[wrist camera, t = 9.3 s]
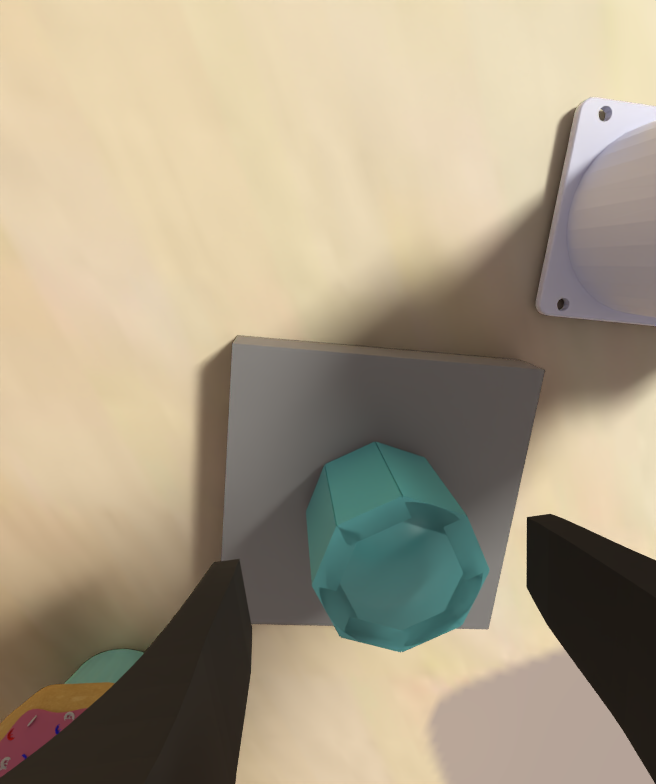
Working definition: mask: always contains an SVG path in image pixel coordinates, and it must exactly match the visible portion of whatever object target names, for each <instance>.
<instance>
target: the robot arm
mask: <svg viewBox="0 0 656 784" xmlns="http://www.w3.org/2000/svg"><path fill="white" fill-rule="evenodd" d="M600 109H602V110H603V111H604V112H605V119H604V121H601V120H600V118H599V111H600ZM561 298H562V299H563V300H564V305H563V308H561V309H560V310H559V309H558V308H557V303H558V301H559V300H560V299H561ZM536 309H537V311H538V312H539V313H540V314H543V315H548V316H557V317H568V318H578V319H588V320H598V321H608V322H619V323H629V324H639V325H649V326H656V106H650V105H644V104H637V103H631V102H624V101H618V100H611V99H604V98H598V97H590V98H588V99H586V100H585V101H583V102H581V103H580V104H579V105H578V106H577V108H576V110H575V113H574V118H573V123H572V128H571V133H570V137H569V142H568V147H567V152H566V157H565V162H564V167H563V171H562V176H561V181H560V186H559V191H558V196H557V201H556V205H555V210H554V215H553V220H552V225H551V230H550V235H549V239H548V244H547V249H546V254H545V259H544V264H543V269H542V273H541V278H540V283H539V288H538V293H537V298H536ZM527 589H528V591H529V592H530V594H531V596H532V598H533V600H534V602H535V604H536V606H537V608H538V609H539V611H540V613H541V615H542V616H543V618H544V620H545V622H546V623H547V625H548V626H549V628H550V629H551V631H552V632H553V634H554V635H555V636H556V638H557V639H558V640H559V642H560V643H561V645H562V646H563V647H564V649H565V650H566V652H567V653H568V654H569V656H570V657H571V658H572V660H573V661H574V662H575V664H576V665H577V667H578V668H579V669H580V671H581V672H582V673H583V675H584V676H585V678H586V679H587V680H588V682H589V683H590V684H591V686H592V687H593V688H594V690H595V691H596V693H597V694H598V695H599V697H600V698H601V700H602V701H603V702H604V704H605V705H606V706H607V708H608V709H609V710H610V712H611V713H612V715H613V716H614V718H615V719H616V721H617V722H618V724H619V725H620V727H621V728H622V729H623V731H624V733H625V734H626V736H627V738H628V739H629V741H630V742H631V744H632V746H633V747H634V749H635V751H636V752H637V754H638V756H639V757H640V759H641V761H642V762H643V764H644V766H645V767H646V769H647V771H648V772H649V773H650V776H651V777H652V779H653V780H654V782H655V784H656V560H654V559H651V558H649V557H647V556H644V555H642V554H640V553H637V552H635V551H633V550H631V549H628V548H626V547H624V546H622V545H620V544H617V543H615V542H613V541H611V540H609V539H607V538H604V537H602V536H600V535H598V534H596V533H594V532H591V531H589V530H587V529H585V528H583V527H581V526H578V525H576V524H574V523H572V522H570V521H567V520H565V519H563V518H560V517H558V516H555V515H552V514H546V515H539V516H533V517H527ZM251 654H252V626H251V620H250V614H249V609H248V603H247V598H246V592H245V587H244V581H243V576H242V570H241V565H240V559H234V560H227V561H220V562H214V563H213V565H212V566H211V567H210V568H209V570H208V571H207V573H206V574H205V575H204V577H203V578H202V580H201V581H200V582H199V584H198V585H197V587H196V588H195V589H194V591H193V592H192V594H191V595H190V596H189V598H188V599H187V600H186V602H185V603H184V604H183V606H182V607H181V608H180V610H179V611H178V612H177V614H176V615H175V616H174V617H173V619H172V620H171V621H170V623H169V624H168V625H167V626H166V628H165V629H164V630H163V631H162V632H161V634H160V635H159V636H158V637H157V638H156V640H155V641H154V642H153V643H152V644H151V645H150V647H149V648H148V649H147V650H146V651H145V653H144V654H143V655H142V656H141V657H140V658H139V659H138V660H137V661H136V662H135V663H134V664H133V666H132V667H131V668H130V669H129V670H128V671H127V672H126V673H125V674H124V675H123V676H122V677H121V678H120V679H119V680H118V681H117V682H116V683H115V684H114V685H113V686H112V687H111V688H110V689H108V690H107V691H106V692H105V693H104V694H103V695H102V696H101V697H100V698H99V699H97V700H96V701H95V702H94V703H93V704H92V705H91V706H89V707H88V708H87V709H86V710H85V711H84V712H83V713H81V714H80V715H79V716H78V717H77V718H76V719H75V720H73V721H72V722H71V723H70V724H69V725H68V726H67V727H66V728H64V729H63V730H62V731H61V732H59V733H58V734H57V735H56V736H54V737H53V738H52V739H51V740H49V741H48V742H47V743H46V744H44V745H43V746H42V747H41V748H39V749H38V750H37V751H35V752H34V753H33V754H31V755H30V756H29V757H27V758H26V759H25V760H23V761H22V762H21V763H19V764H18V765H17V766H15V767H14V768H13V769H11V770H10V771H9V772H7V773H6V774H4V775H3V776H2V777H0V784H235V781H236V772H237V765H238V758H239V751H240V744H241V737H242V730H243V724H244V717H245V710H246V703H247V696H248V688H249V681H250V674H251Z"/></svg>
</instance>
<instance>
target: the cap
mask: <svg viewBox="0 0 656 784" xmlns="http://www.w3.org/2000/svg"><path fill="white" fill-rule="evenodd" d="M306 520H307V532H308V544H309V557H310V569H311V581H312V587H313V589H314V591H315V593H316V595H317V596H318V598H319V600H320V602H321V604H322V605H323V607H324V609H325V611H326V613H327V614H328V616H329V618H330V620H331V622H332V623H333V625H334V627H335V629H336V631H337V632H338V634H339V636H341V638H346V639H350V640H354V641H358V642H362V643H366V644H370V645H374V646H378V647H382V648H386V649H390V650H394V651H398V652H401V651H402V652H404V651H406V650H408V649H411V648H413V647H415V646H417V645H420V644H422V643H424V642H426V641H429V640H431V639H433V638H435V637H438V636H440V635H442V634H444V633H447V632H449V631H451V630H453V629H456V628H458V627H460V626H461V625H463V623H464V621H465V619H466V617H467V615H468V613H469V611H470V609H471V607H472V605H473V603H474V601H475V599H476V597H477V595H478V593H479V591H480V589H481V587H482V585H483V583H484V581H485V579H486V577H487V575H488V573H489V570H490V569H489V567H488V564H487V562H486V559H485V557H484V555H483V552H482V550H481V548H480V545H479V543H478V540H477V538H476V536H475V533H474V531H473V528H472V526H471V524H470V521H469V519H468V517H467V515H466V514H465V512H464V511H463V509H462V508H461V507H460V505H459V504H458V503H457V501H456V500H455V498H454V497H453V496H452V494H451V493H450V491H449V490H448V489H447V487H446V486H445V484H444V483H443V482H442V480H441V479H440V478H439V476H438V475H437V473H436V472H435V471H434V469H433V468H432V466H431V465H430V464H429V462H428V461H427V459H426V458H425V457H422V456H419V455H416V454H413V453H410V452H406V451H403V450H400V449H397V448H394V447H391V446H388V445H385V444H382V443H379V442H372V443H370V444H368V445H366V446H364V447H362V448H359V449H357V450H355V451H353V452H351V453H348V454H346V455H344V456H342V457H340V458H338V459H335V460H333V461H331V462H329V463H327V464H325V465H324V467H323V469H322V472H321V475H320V477H319V480H318V482H317V485H316V487H315V490H314V492H313V495H312V497H311V500H310V502H309V505H308V508H307V510H306Z"/></svg>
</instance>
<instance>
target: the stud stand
mask: <svg viewBox="0 0 656 784" xmlns="http://www.w3.org/2000/svg"><path fill="white" fill-rule="evenodd" d="M544 372H545V370H544V369H542V368H539V367H537V366H534V365H532V364H529V363H527V362H524V361H522V360H515V359H504V358H492V357H481V356H469V355H458V354H446V353H435V352H423V351H412V350H400V349H389V348H377V347H366V346H354V345H343V344H331V343H320V342H308V341H297V340H285V339H274V338H262V337H251V336H239V335H238V336H237V337H236V339H235V340H234V342H233V343H232V360H231V379H230V399H229V418H228V438H227V457H226V477H225V496H224V516H223V535H222V555H221V561H227V560H234V559H240V565H241V570H242V576H243V581H244V587H245V592H246V598H247V603H248V609H249V614H250V620H251V624H278V625H322V626H334V625H333V623H332V622H331V620H330V618H329V616H328V614H327V613H326V611H325V609H324V607H323V605H322V604H321V602H320V600H319V598H318V596H317V595H316V593H315V591H314V589H313V587H312V581H311V569H310V557H309V544H308V532H307V520H306V510H307V508H308V505H309V502H310V500H311V497H312V495H313V492H314V490H315V487H316V485H317V482H318V480H319V477H320V475H321V472H322V469H323V467H324V465H325V464H327V463H329V462H331V461H333V460H335V459H338V458H340V457H342V456H344V455H346V454H348V453H351V452H353V451H355V450H357V449H359V448H362V447H364V446H366V445H368V444H370V443H372V442H379V443H382V444H385V445H388V446H391V447H394V448H397V449H400V450H403V451H406V452H410V453H413V454H416V455H419V456H422V457H425V458H426V459H427V461H428V462H429V464H430V465H431V466H432V468H433V469H434V471H435V472H436V473H437V475H438V476H439V478H440V479H441V480H442V482H443V483H444V484H445V486H446V487H447V489H448V490H449V491H450V493H451V494H452V496H453V497H454V498H455V500H456V501H457V503H458V504H459V505H460V507H461V508H462V509H463V511H464V512H465V514H466V515H467V517H468V519H469V521H470V524H471V526H472V528H473V531H474V533H475V536H476V538H477V540H478V543H479V545H480V548H481V550H482V552H483V555H484V557H485V559H486V562H487V564H488V567H489V569H490V570H489V573H488V575H487V577H486V579H485V581H484V583H483V585H482V587H481V589H480V591H479V593H478V595H477V597H476V599H475V601H474V603H473V605H472V607H471V609H470V611H469V613H468V615H467V617H466V619H465V621H464V623H463V625H461V626H460V627H458V628H456V629H489V624H490V619H491V615H492V610H493V606H494V601H495V596H496V592H497V587H498V583H499V578H500V574H501V569H502V564H503V560H504V555H505V551H506V546H507V542H508V537H509V532H510V528H511V523H512V519H513V514H514V509H515V505H516V500H517V496H518V491H519V487H520V482H521V477H522V473H523V468H524V464H525V459H526V454H527V450H528V445H529V441H530V436H531V432H532V427H533V422H534V418H535V413H536V409H537V404H538V399H539V395H540V390H541V386H542V381H543V377H544Z"/></svg>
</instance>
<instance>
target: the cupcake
mask: <svg viewBox="0 0 656 784" xmlns="http://www.w3.org/2000/svg"><path fill="white" fill-rule="evenodd" d="M143 654H144V652H141V651H137V650H131V649H115V650H109V651H106V652H102V653H100V654H97V655H95V656H94V657H92V658H90V659H89V660H87V661H86V662H85V663H84V664H83V665H82V666H81V667H80V668H79V669H78V670H77V671H76V672H75V673H74V674H73V675H72V676H71V677H70V678H69V679H68V680H67V681H66V682H65V683H64V684H55V685H50V686H47V687H44V688H42V689H41V690H39V691H38V692H37V693H35V694H34V695H33V696H32V697H30V698H29V699H28V700H27V701H26V702H24V703H23V704H22V705H21V706H19V707H18V708H17V709H15V710H14V711H13V712H12V713H11V714H10V715H9V716H8V717H7V718H6V719H5V720H4V721H3V722H2V723H1V724H0V777H2V776H3V775H4V774H6V773H7V772H9V771H10V770H11V769H13V768H14V767H15V766H17V765H18V764H19V763H21V762H22V761H23V760H25V759H26V758H27V757H29V756H30V755H31V754H33V753H34V752H35V751H37V750H38V749H39V748H41V747H42V746H43V745H44V744H46V743H47V742H48V741H49V740H51V739H52V738H53V737H54V736H56V735H57V734H58V733H59V732H61V731H62V730H63V729H64V728H66V727H67V726H68V725H69V724H70V723H71V722H72V721H73V720H75V719H76V718H77V717H78V716H79V715H80V714H81V713H83V712H84V711H85V710H86V709H87V708H88V707H89V706H91V705H92V704H93V703H94V702H95V701H96V700H97V699H99V698H100V697H101V696H102V695H103V694H104V693H105V692H106V691H107V690H108V689H110V688H111V687H112V686H113V685H114V684H115V683H116V682H117V681H118V680H119V679H120V678H121V677H122V676H123V675H124V674H125V673H126V672H127V671H128V670H129V669H130V668H131V667H132V666H133V664H134V663H135V662H136V661H137V660H138V659H139V658H140V657H141V656H142V655H143Z"/></svg>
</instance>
